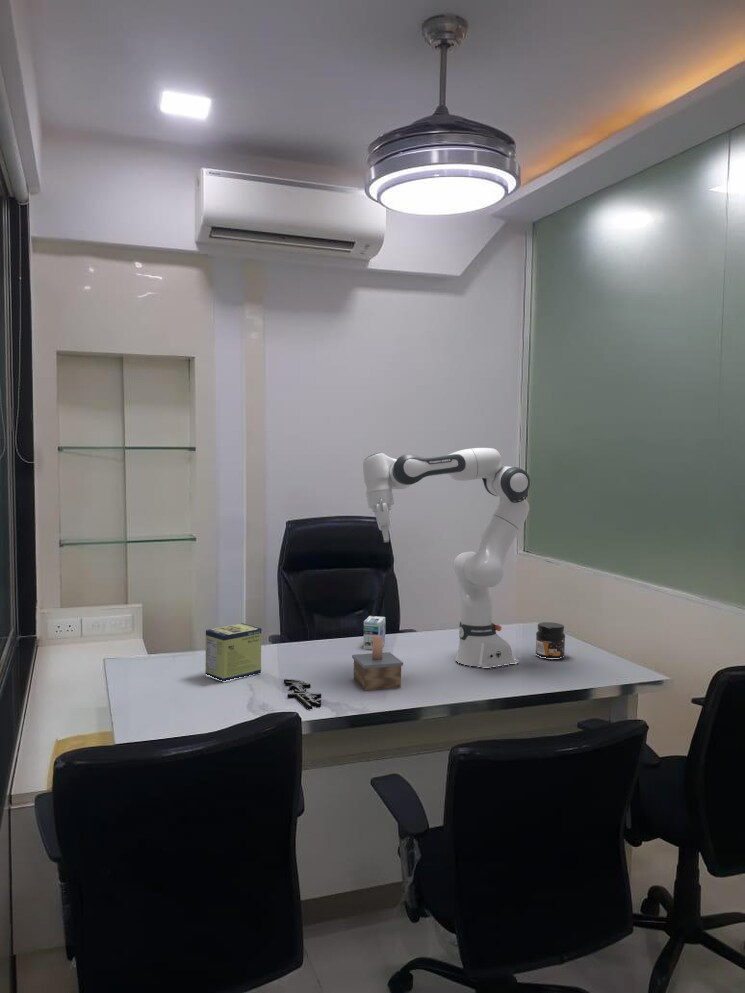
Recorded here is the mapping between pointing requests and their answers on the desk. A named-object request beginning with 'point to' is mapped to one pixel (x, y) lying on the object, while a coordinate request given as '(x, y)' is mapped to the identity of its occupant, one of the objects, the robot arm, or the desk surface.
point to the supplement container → (550, 640)
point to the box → (377, 677)
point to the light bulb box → (373, 630)
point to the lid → (377, 656)
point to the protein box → (233, 651)
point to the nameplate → (303, 693)
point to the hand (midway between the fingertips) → (386, 541)
